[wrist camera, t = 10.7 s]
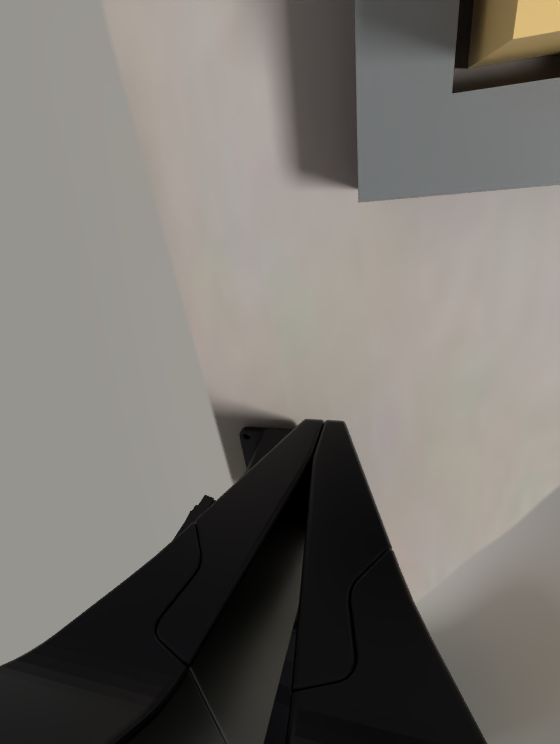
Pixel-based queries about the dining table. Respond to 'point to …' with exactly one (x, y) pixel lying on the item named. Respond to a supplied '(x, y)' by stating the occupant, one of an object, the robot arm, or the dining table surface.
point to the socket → (442, 111)
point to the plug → (513, 30)
